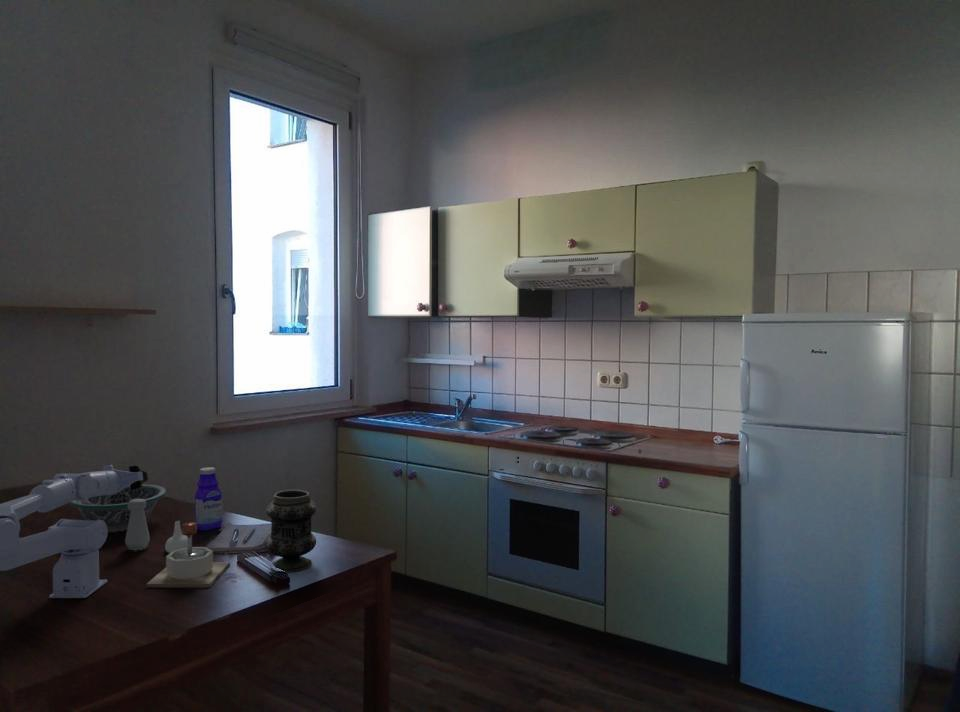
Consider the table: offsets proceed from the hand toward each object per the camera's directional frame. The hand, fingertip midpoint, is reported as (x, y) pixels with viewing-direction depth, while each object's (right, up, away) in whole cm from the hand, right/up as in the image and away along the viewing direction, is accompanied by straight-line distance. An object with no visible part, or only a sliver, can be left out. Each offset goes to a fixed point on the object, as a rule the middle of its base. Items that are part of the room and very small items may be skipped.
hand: (131, 479), depth 174 cm
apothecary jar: (+41, -21, -3) cm, 46 cm away
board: (+19, -21, -10) cm, 30 cm away
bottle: (+9, -19, +26) cm, 34 cm away
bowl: (-17, -19, +27) cm, 37 cm away
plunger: (+19, -16, -11) cm, 27 cm away
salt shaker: (-2, -20, +8) cm, 21 cm away
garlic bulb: (+9, -20, +7) cm, 23 cm away
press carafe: (+19, -21, -10) cm, 30 cm away
